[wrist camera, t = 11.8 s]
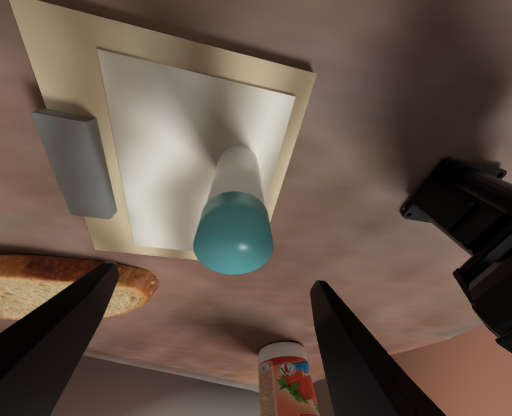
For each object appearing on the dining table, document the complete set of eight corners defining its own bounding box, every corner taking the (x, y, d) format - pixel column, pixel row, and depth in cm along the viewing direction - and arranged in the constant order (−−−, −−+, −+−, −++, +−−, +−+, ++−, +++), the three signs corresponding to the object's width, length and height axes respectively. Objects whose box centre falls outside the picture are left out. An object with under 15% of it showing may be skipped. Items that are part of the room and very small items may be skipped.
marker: (264, 148, 15) (282, 223, 8) (254, 187, 17) (263, 277, 10) (219, 140, 15) (194, 212, 7) (214, 181, 17) (191, 270, 9)
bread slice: (172, 280, 26) (162, 308, 23) (98, 326, 32) (83, 354, 29) (6, 186, 18) (-44, 212, 15) (-53, 273, 24) (-98, 304, 20)
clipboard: (313, 73, 14) (323, 74, 12) (255, 260, 24) (256, 274, 22) (20, -4, 11) (-19, -16, 9) (99, 244, 21) (87, 258, 20)
